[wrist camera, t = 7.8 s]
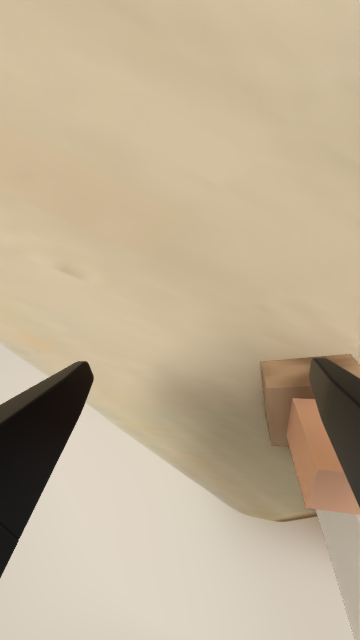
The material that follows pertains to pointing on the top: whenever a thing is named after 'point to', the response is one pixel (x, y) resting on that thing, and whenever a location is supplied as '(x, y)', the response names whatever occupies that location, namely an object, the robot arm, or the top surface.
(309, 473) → the terracotta cube
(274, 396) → the walnut block
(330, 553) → the milk carton
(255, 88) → the top surface
